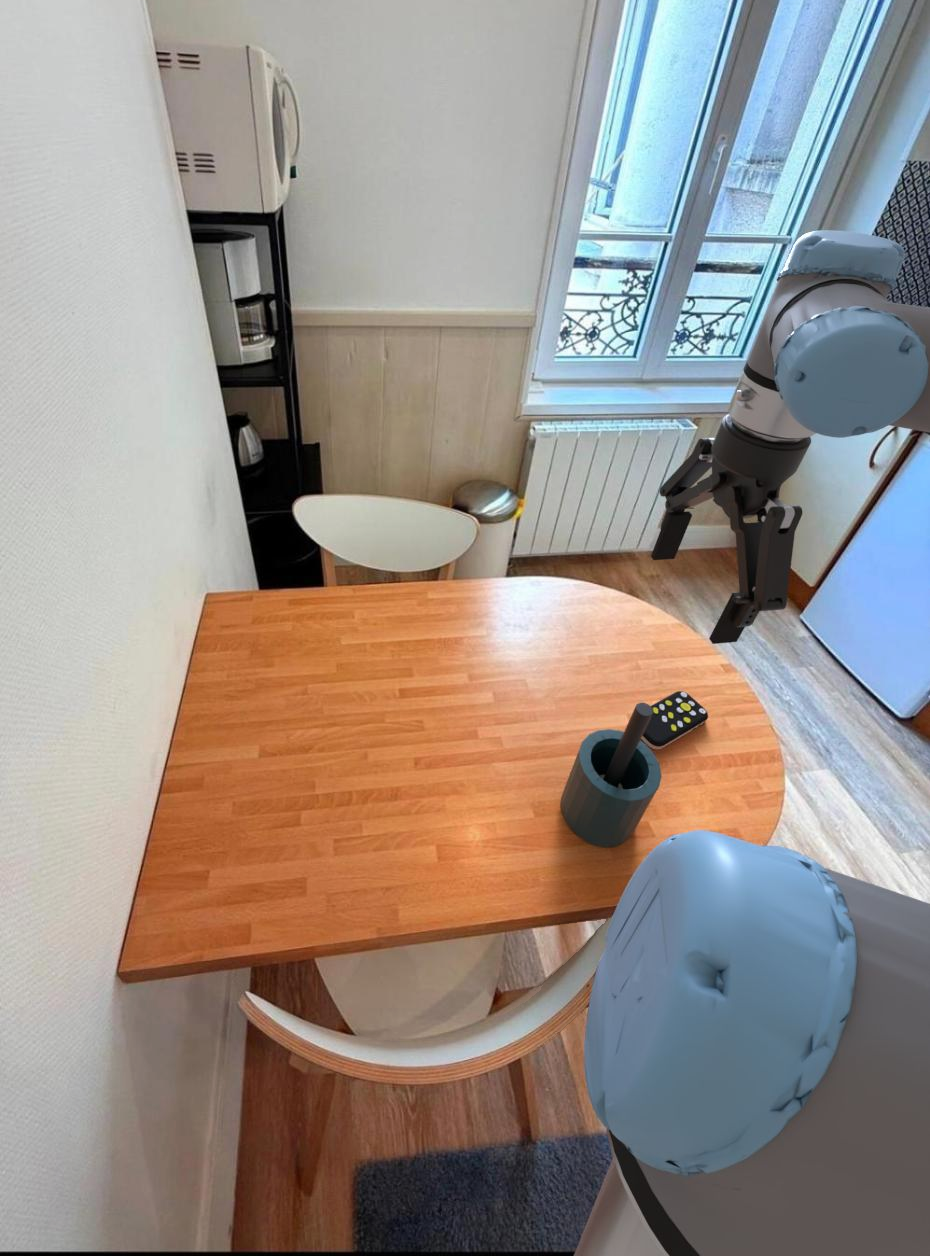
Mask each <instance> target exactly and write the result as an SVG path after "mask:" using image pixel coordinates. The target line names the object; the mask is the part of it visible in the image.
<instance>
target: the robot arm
mask: <svg viewBox="0 0 930 1256" xmlns="http://www.w3.org/2000/svg"><path fill="white" fill-rule="evenodd" d="M905 257H906V252H905V249H904V247H903V246H902V245H901V244H899V243H898V242H896V241H895V240H891V239H889V238H886V237H881V236H877V235H873V234H868V233H862V232H857V231H847V230H833V229H823V230H814V231H809V232H807V233H805V234H802V236H800V237H799V238H798V239H797V240H796V241H795V243H794V244H793V246H792V248H791V251H790V253H789V255H788V257H787V259H786V262H785V264H784V267H783V269H782V270H781V271H780V272H779V273H778V274H777V277H776V281H777V283H776V285H775V287H774V290H773V293H772V296H771V298H770V300H769V303H768V306H767V308H766V311H765V314H764V317H763V319H762V321H761V324H760V327H759V329H758V331H757V334H756V337H755V339H754V342H753V345H752V347H751V350H750V352H749V354H748V357H747V360H746V362H745V364H744V367H743V369H742V372H741V375H740V377H739V380H738V382H737V384H736V387H735V389H734V391H733V394H732V397H731V399H730V401H729V404H728V406H727V413H728V414H726V415H725V416H724V417H722V420H721V423H720V425H719V427H718V429H717V432H716V435H715V437H705V438H703V437H702V438H699V439H698V440H697V442H696V444H695V445H694V448H693V450H692V452H691V454H690V455H689V456H688V457H687V458H686V459H685V460H684V461H683V463H682V464H681V465H680V466H679V467H678V468H677V469H676V470H675V471H674V473H672V474H671V475H670V477H669V478H668V479H667V480H666V481H665V482H664V483H663V484H662V485H661V486H660V488H659V495H660V497H665V499H666V500H665V503H664V506H665V509H666V510H665V512H664V516H663V518H662V521H661V523H660V528H659V529H660V531H659V533H658V536H657V539H656V542H655V544H654V547H653V550H652V552H651V555H650V558H651V559H652V560H653V561H665V560H675V558H676V556H677V554H678V551H679V549H680V546H681V544H682V542H683V539H684V537H685V534H686V532H687V530H688V527H689V525H690V523H691V519H692V517H693V514H692V513H691V511H689V510H692V509H695V507H696V506H698V505H700V504H703V503H705V502H706V501H709V500H712V502H713V503H714V504H715V505H717V506H718V507H720V508H721V509H722V510H723V512H724V514H725V515H726V516H727V517H728V518H729V526H730V530H731V531H732V532H734V534H735V542H736V543H735V544H736V556H737V559H736V560H737V572H738V573H737V574H738V587H739V591H737V592H731V595H730V597H729V599H728V600H727V603H726V605H725V606H724V609H723V611H722V612H721V615H720V616H719V618H718V620H717V622H716V624H715V626H714V628H713V630H712V632H711V633H710V636H709V638H708V639H709V641H710V642H711V644H712V645H717V644H727V643H729V644H731V643H737V642H738V640H739V639H740V637H741V635H742V633H743V632H744V630H745V628H746V627H750V626H752V625H753V624H754V622H755V620H756V619H757V617H758V615H759V613H760V612H768V611H769V612H770V611H782V610H785V609H786V608H787V604H788V603H787V601H788V594H789V586H790V585H789V584H790V576H791V568H792V560H793V553H794V552H793V551H794V543H795V533H796V531H797V528H798V526H799V523H800V521H801V519H802V516H803V508H802V507H801V506H800V505H798V504H797V505H788V504H787V503H785V502H783V500H781V499H780V492H781V487H782V485H784V483H785V482H786V481H787V480H789V479H790V478H791V477H792V476H794V475H795V474H796V472H797V471H798V469H799V467H800V466H801V463H802V461H803V459H804V458H805V456H806V453H807V452H808V450H809V447H810V446H811V444H812V438H811V437H812V436H814V435H816V434H817V435H821V436H824V437H830V438H837V439H839V438H840V439H841V438H843V439H844V438H850V437H855V436H861V435H864V434H865V435H866V434H871V433H875V432H878V431H880V430H883V429H884V428H886V427H890V426H891V427H897V428H902V429H908V430H914V431H919V432H924V433H930V307H929V306H921V305H914V304H906V303H899V302H893V301H889V300H887V297H888V295H889V294H890V292H892V291H894V289H895V287H896V281H897V278H898V276H899V273H900V270H901V268H902V266H903V263H904V261H905ZM710 469H711V474H709V476H707V477H706V478H704V479H701V478H702V477H703V476H704V475H705V474H706V473H707V472H708V471H710ZM700 479H701V480H700ZM699 480H700V481H699ZM686 510H687V511H686ZM756 516H757V517H756ZM754 517H756V518H757V521H756V522H745V521H744V520H745V519H752V518H754ZM583 1046H584V1048H583V1051H584V1052H583V1056H584V1058H583V1059H584V1076H585V1077H584V1078H585V1083H586V1089H587V1093H588V1098H589V1100H590V1103H591V1106H592V1109H593V1111H594V1113H595V1115H596V1117H597V1118H598V1119H599V1121H600V1123H601V1124H602V1126H603V1127H604V1128H605V1130H606V1134H607V1139H608V1143H609V1148H610V1152H611V1156H612V1158H611V1162H610V1164H609V1166H608V1169H607V1172H606V1174H605V1177H604V1180H603V1182H602V1184H601V1187H600V1189H599V1191H598V1192H599V1193H598V1194H597V1197H596V1199H595V1201H594V1204H593V1207H592V1209H591V1212H590V1214H589V1217H588V1219H587V1222H586V1224H585V1227H584V1229H583V1231H582V1234H581V1237H580V1240H579V1242H578V1244H577V1247H576V1249H575V1251H574V1253H573V1256H930V903H929V902H926V901H923V900H920V899H918V898H915V897H911V896H909V895H906V894H904V893H900V892H897V891H893V890H891V889H888V888H885V887H882V886H879V885H876V884H873V883H871V882H867V881H865V880H861V879H859V878H855V877H854V876H850V875H847V874H844V873H841V872H838V871H836V870H832V869H830V868H827V867H824V866H823V865H822V864H821V863H820V862H818V861H816V860H814V859H813V858H811V857H809V856H808V855H805V854H803V853H800V852H798V851H796V850H793V849H791V848H788V847H783V846H779V845H759V844H757V843H753V842H750V841H747V840H744V839H740V838H737V837H733V836H730V835H727V834H724V833H721V832H716V831H711V830H705V829H697V830H691V831H687V832H682V833H676V834H673V835H671V836H669V837H667V838H666V839H664V840H663V841H662V842H660V843H658V844H657V845H656V846H655V847H654V848H653V849H652V850H651V851H649V853H648V854H647V855H646V856H645V857H644V858H643V860H642V861H641V863H639V865H638V867H637V868H636V869H635V871H634V872H633V874H632V876H631V878H630V879H629V881H628V883H627V885H626V887H625V888H624V890H623V892H622V894H621V896H620V898H619V901H618V903H617V906H616V908H615V910H614V912H613V915H612V918H611V920H610V923H609V925H608V927H607V931H606V935H605V948H604V950H603V953H602V956H601V958H600V959H599V961H598V963H597V966H596V969H595V973H594V975H593V980H592V985H591V991H590V996H589V1002H588V1007H587V1014H586V1023H585V1030H584V1045H583Z"/></svg>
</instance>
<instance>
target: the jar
mask: <svg viewBox="0 0 930 1256" xmlns="http://www.w3.org/2000/svg"><path fill="white" fill-rule="evenodd" d="M623 733H624V731H623V730H618V729H613V728H608V729H607V728H606V729H598V730H595V731H593V732H591V733H589V734H588V735H587V736H586V737H585V738H584V739H583V740H582V741H581V744H580V746H579V749H578V752H577V754H576V757H575V760H574V762H573V764H572V768H571V770H570V773H569V775H568V778H567V780H566V783H565V786H564V789H563V792H562V794H561V797H560V809H561V814H562V817H563V819H564V821H565V823H566V825H567V826H568V828H569V829H570V831H572V833H573V834H575V835H576V836H577V837H578V838H580V839H581V840H582V841H584V842H586V843H588V844H589V845H591V846H595V847H599V848H605V849H607V848H615V847H619V846H621V845H623V844H625V843H626V842H627V841H628V840H629V839H630V838H631V837H632V835H633V833H635V831H636V829H637V827H638V826H639V824H640V822H641V820H642V818H643V816H644V815H645V813H646V811H647V810H648V807H649V806H650V805H651V802H652V801H653V798H654V797H655V795H656V793H657V791H658V789H660V785H661V781H662V770H661V765H660V763H659V760H658V759H657V757H656V754H655V753H654V752H653V751H652V749H651V748H650V747H649V746H648V745H647V744H646V743H645V742H644V741H643V740H640V742H639V744H638V746H637V748H636V750H635V752H634V754H633V756H632V758H631V760H630V763H629V765H628V767H627V769H626V771H625V773H624V775H623V777H622V779H621V781H620V784H621V785H622V788H623V789H620V788H616V787H614V786H612V785H610V784H608V783H607V782H605V781H604V780H603V779H602V778H600V776H599V775H605V774H606V772H607V769H608V767H609V765H610V763H611V760H612V758H613V756H614V754H615V751H616V749H617V747H618V745H619V742H620V740H621V738H622V736H623Z"/></svg>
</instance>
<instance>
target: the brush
mask: <svg viewBox="0 0 930 1256" xmlns="http://www.w3.org/2000/svg"><path fill="white" fill-rule="evenodd" d="M652 715H653V709H652V707H651V705H649V704H648V703H646V702H638V703H636V705H635V707H634V708H633V711H632V713H631V716H630V717H629V719H628V722H627V724H626V727H625V729H624V731H623V732H624V733H623V736H622V738H621V740H620V742H619V745H618V747H617V749H616V751H615V754H614V756H613V758H612V760H611V763H610V765H609V767H608V769H607V772H606V774H605V775H599V776H600V778H602V779H603V780H604V781H605V782H607V783H608V784H610V785H612V786H614V787H616V788H620V789H623V788H622V785H621V784H620V781H621V779H622V777H623V775H624V773H625V771H626V769H627V767H628V765H629V763H630V760H631V758H632V756H633V754H634V752H635V750H636V748H637V746H638V744H639V742H640V741H642V739H641V737H642V735H643V733H644V731H645V729H646V727H647V725H648V723H649V721H650V719H651V717H652Z"/></svg>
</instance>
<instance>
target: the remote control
mask: <svg viewBox="0 0 930 1256" xmlns="http://www.w3.org/2000/svg"><path fill="white" fill-rule="evenodd" d="M650 706H651V707H652V709H653V715H652V717H651V719H650V721H649V723H648V725H647V727H646V729H645V731H644V733H643V735H642V737H641V741H642V742H643V743H645V744H646V745H647V746H648V748H649V749H651V750H652V749H653V750H661V749H663V748H665V747H667V746H668V745H670V744H671V743H674V742H675V741H677V740H678V739H680V738H682V737H684V736H685V735H687V734H689V733H690V732H693V731H694V730H695V729H697V728H699V727H701V726H702V725H704V724H705V723H706V722H707V720H708V718H709V714H708V711H707V709H705V708H704V706H702V705H701V704H700V703H699V702H698V701H696V700H695V698H693V697H692V696H691V695H690V694H688V692H685V691H681V690H679V691H678V690H677V691H675V692H674V693H671V694H670V695H668V696H666V697H665V698H662V699H660V700H659V701H657V702H655V703H653V704H651V705H650Z"/></svg>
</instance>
